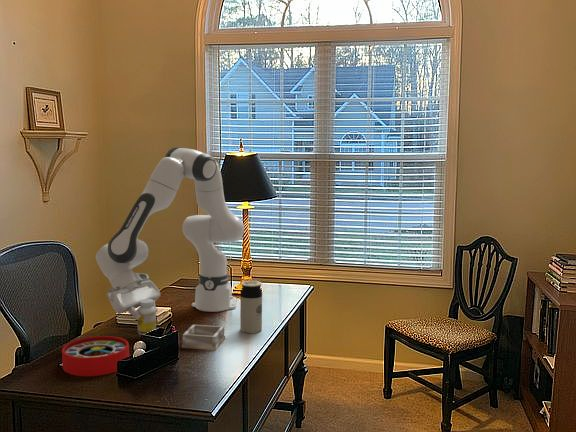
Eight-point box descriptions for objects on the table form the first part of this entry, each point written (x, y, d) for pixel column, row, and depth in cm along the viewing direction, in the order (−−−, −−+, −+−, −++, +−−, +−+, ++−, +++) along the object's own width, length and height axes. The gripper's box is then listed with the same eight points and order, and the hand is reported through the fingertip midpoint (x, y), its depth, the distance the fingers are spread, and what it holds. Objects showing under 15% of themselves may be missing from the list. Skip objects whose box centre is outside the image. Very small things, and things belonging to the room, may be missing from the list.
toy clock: (96, 332, 201) (142, 342, 192) (96, 349, 202) (142, 360, 193) (47, 350, 184) (95, 362, 174) (48, 369, 184) (96, 382, 175)
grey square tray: (192, 336, 215) (192, 324, 215) (225, 338, 213) (225, 326, 213) (181, 347, 204) (181, 334, 203) (215, 350, 202) (215, 337, 201)
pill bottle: (139, 329, 215) (138, 298, 213) (157, 329, 215) (156, 298, 214) (136, 335, 209) (135, 303, 207) (154, 335, 209) (154, 303, 207)
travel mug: (235, 330, 223) (236, 282, 221) (251, 325, 229) (251, 279, 226) (250, 335, 218) (251, 286, 215) (266, 330, 223) (266, 283, 221)
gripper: (109, 285, 204) (131, 318, 200) (150, 273, 221) (171, 302, 218) (100, 296, 206) (121, 328, 203) (141, 283, 224) (162, 312, 221)
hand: (147, 315), depth 211 cm, fingers closed on pill bottle, 6 cm apart
